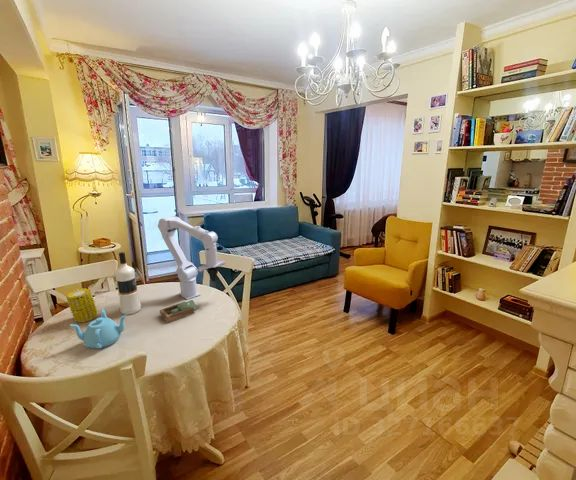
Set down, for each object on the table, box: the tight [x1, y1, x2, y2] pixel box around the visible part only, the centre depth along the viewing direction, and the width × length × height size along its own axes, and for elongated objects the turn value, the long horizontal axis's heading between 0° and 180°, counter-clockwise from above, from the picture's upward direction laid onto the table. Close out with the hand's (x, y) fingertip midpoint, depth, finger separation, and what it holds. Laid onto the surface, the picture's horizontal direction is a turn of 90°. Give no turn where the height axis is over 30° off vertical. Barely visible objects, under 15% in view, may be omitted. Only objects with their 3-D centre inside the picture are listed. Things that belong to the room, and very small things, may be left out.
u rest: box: [159, 301, 195, 324], centre depth 142 cm, size 9×13×3 cm
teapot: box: [69, 308, 128, 350], centre depth 121 cm, size 15×15×10 cm
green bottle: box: [170, 299, 197, 315], centre depth 143 cm, size 5×5×11 cm
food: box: [65, 287, 98, 323], centre depth 139 cm, size 15×12×10 cm
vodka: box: [114, 251, 142, 316], centre depth 144 cm, size 9×9×30 cm
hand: (213, 280), depth 156 cm, fingers closed
